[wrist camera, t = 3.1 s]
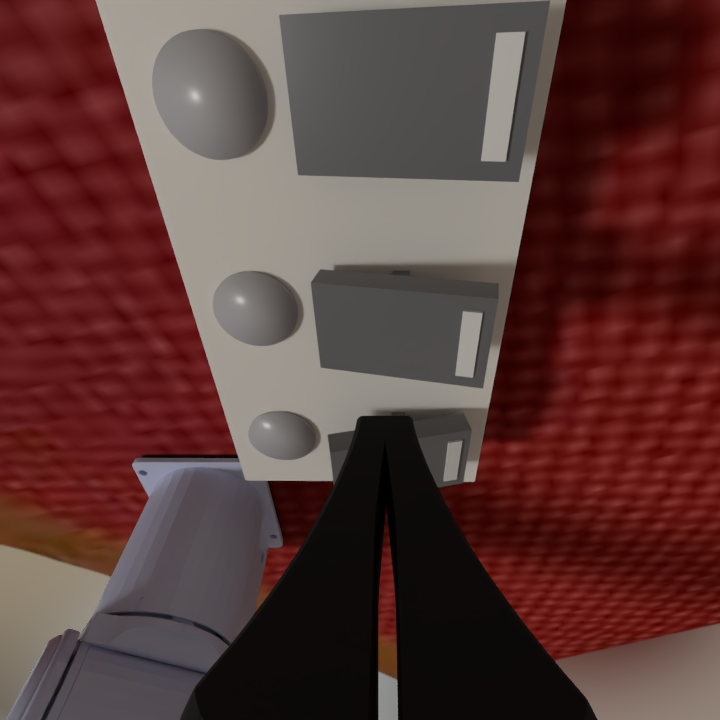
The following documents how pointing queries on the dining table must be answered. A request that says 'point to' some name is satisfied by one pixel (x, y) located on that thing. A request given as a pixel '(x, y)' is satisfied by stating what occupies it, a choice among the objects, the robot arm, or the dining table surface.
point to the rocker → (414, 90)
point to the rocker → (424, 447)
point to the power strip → (298, 223)
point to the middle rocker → (405, 326)
